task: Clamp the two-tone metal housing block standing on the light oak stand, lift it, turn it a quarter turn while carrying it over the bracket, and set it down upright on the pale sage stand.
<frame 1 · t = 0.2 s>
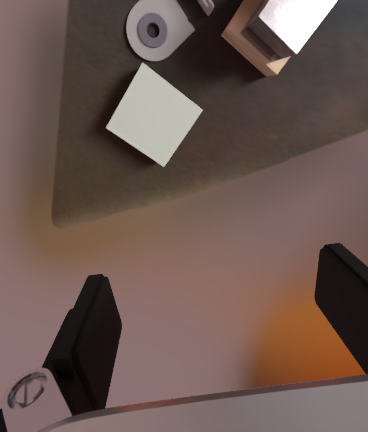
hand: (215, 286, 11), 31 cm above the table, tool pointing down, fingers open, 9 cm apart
stand a: (264, 27, 33), on the table
housing: (276, 18, 29), point 4 cm above the table, touching stand a
stand b: (155, 116, 37), on the table
bracket: (168, 20, 33), on the table
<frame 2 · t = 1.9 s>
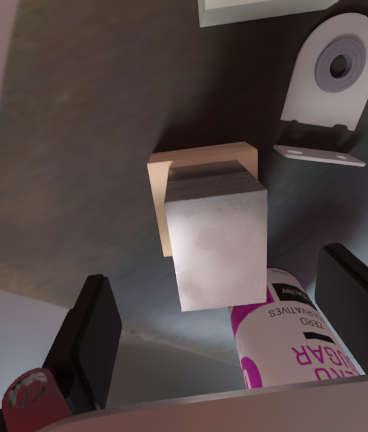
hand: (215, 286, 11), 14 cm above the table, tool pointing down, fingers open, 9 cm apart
stand a: (202, 191, 24), on the table
housing: (206, 207, 20), point 4 cm above the table, touching stand a
bracket: (318, 99, 22), on the table
supplement can: (261, 293, 29), on the table
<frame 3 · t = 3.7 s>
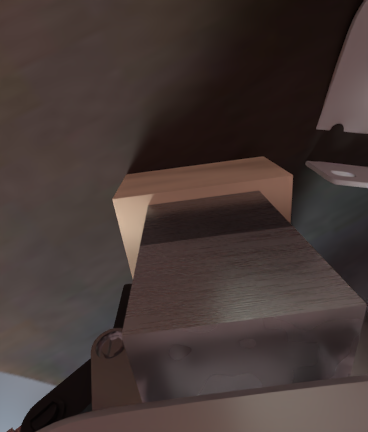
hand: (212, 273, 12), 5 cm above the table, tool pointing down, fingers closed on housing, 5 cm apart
stand a: (201, 226, 17), on the table
housing: (209, 262, 13), point 4 cm above the table, touching gripper, stand a
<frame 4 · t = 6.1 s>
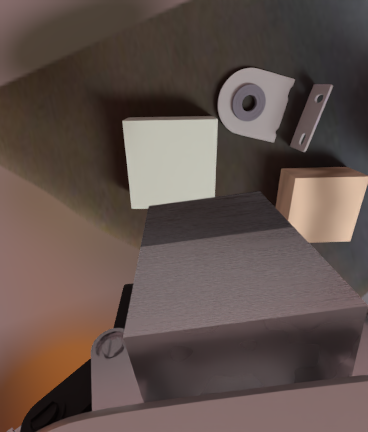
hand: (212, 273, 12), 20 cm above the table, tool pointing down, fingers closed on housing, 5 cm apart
stand a: (307, 198, 33), on the table
housing: (210, 262, 13), point 19 cm above the table, touching gripper
stand b: (172, 158, 30), on the table
bracket: (265, 110, 29), on the table
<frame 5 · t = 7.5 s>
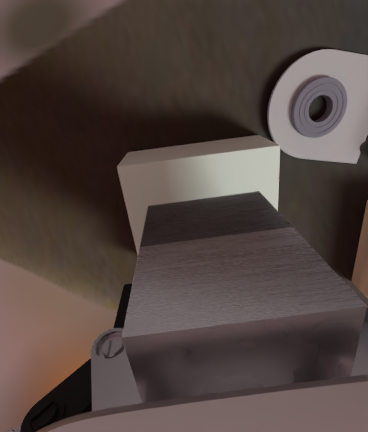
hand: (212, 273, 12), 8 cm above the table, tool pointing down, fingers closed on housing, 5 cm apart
housing: (209, 262, 13), point 7 cm above the table, touching gripper
stand b: (199, 203, 20), on the table
bracket: (341, 116, 18), on the table
when the fingers open (6 cm above the table, at t = 8.5 s): housing drops 1 cm, resting on stand b.
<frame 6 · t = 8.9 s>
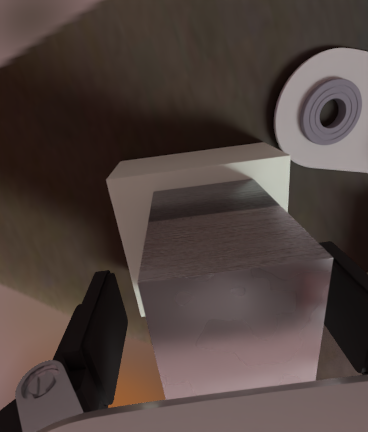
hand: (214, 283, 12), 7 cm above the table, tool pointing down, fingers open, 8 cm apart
housing: (208, 244, 14), point 4 cm above the table, touching stand b
stand b: (198, 216, 18), on the table
bracket: (354, 121, 17), on the table
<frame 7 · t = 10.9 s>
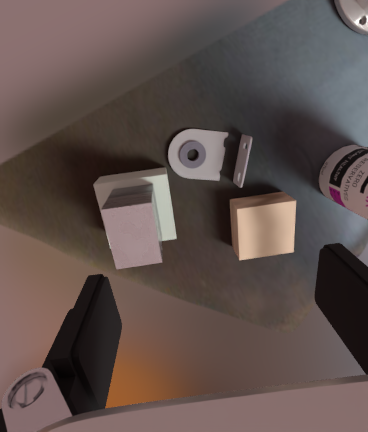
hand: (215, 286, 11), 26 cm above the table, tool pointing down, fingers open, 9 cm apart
stand a: (256, 220, 40), on the table
housing: (138, 212, 33), point 4 cm above the table, touching stand b
stand b: (139, 202, 37), on the table
bracket: (208, 157, 36), on the table
supplement can: (342, 172, 38), on the table
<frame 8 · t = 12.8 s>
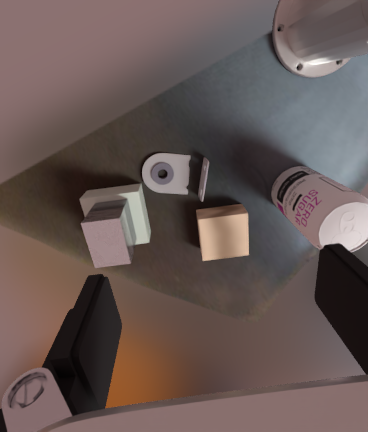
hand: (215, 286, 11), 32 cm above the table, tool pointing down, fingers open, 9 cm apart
stand a: (220, 227, 47), on the table
housing: (116, 221, 41), point 4 cm above the table, touching stand b
stand b: (120, 211, 45), on the table
bracket: (176, 175, 43), on the table
supplement can: (293, 188, 45), on the table
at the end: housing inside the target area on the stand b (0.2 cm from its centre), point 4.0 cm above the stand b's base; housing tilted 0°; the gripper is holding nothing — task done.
